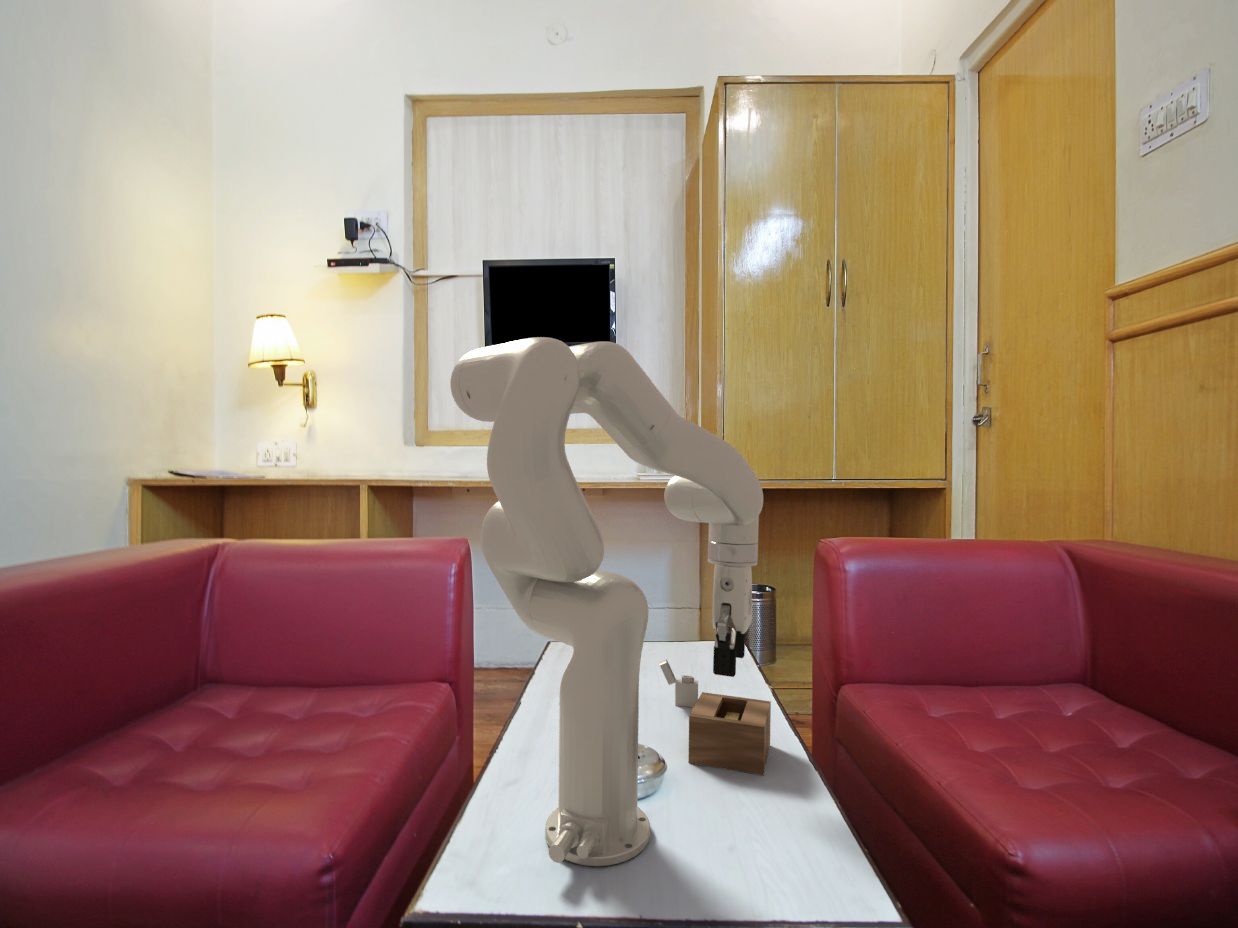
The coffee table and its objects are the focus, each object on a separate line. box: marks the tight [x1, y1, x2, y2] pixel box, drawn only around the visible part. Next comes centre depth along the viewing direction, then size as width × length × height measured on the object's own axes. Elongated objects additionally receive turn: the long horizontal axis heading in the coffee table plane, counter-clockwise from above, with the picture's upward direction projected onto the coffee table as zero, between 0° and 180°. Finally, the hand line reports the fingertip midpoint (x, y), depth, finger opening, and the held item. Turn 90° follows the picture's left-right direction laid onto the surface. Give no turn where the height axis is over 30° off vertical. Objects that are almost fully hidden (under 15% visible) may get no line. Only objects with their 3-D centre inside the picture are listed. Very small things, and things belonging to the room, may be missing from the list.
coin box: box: [687, 691, 772, 776], centre depth 95 cm, size 10×11×7 cm
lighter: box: [659, 659, 699, 708], centre depth 114 cm, size 7×2×8 cm, turn 82°
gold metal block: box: [725, 712, 740, 721], centre depth 95 cm, size 5×2×5 cm, turn 161°
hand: (729, 665), depth 95 cm, fingers open, 9 cm apart
